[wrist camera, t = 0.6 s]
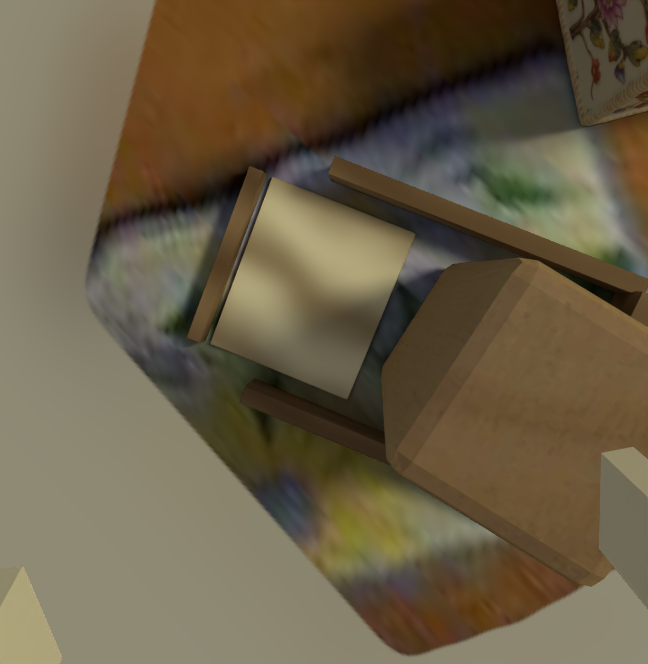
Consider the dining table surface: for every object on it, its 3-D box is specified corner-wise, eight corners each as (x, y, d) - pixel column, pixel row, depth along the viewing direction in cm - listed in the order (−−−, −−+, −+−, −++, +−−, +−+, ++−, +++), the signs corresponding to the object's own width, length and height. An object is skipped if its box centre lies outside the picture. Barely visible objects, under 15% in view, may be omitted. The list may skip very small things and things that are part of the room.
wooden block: (491, 447, 42) (598, 606, 22) (375, 375, 42) (376, 469, 22) (569, 332, 40) (760, 390, 20) (449, 258, 40) (522, 245, 21)
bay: (266, 136, 41) (254, 121, 37) (638, 282, 39) (668, 283, 35) (182, 365, 43) (162, 375, 39) (531, 510, 42) (547, 535, 38)
